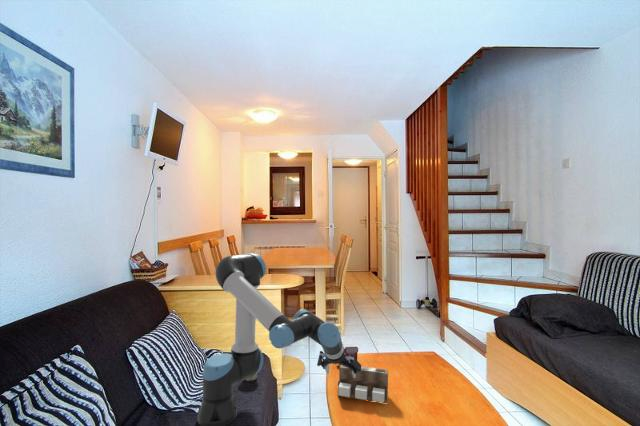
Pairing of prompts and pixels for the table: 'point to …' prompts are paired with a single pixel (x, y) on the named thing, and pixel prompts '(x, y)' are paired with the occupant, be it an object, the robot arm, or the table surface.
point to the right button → (378, 395)
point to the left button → (344, 389)
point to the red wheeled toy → (351, 351)
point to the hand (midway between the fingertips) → (341, 372)
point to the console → (365, 380)
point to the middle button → (361, 392)
